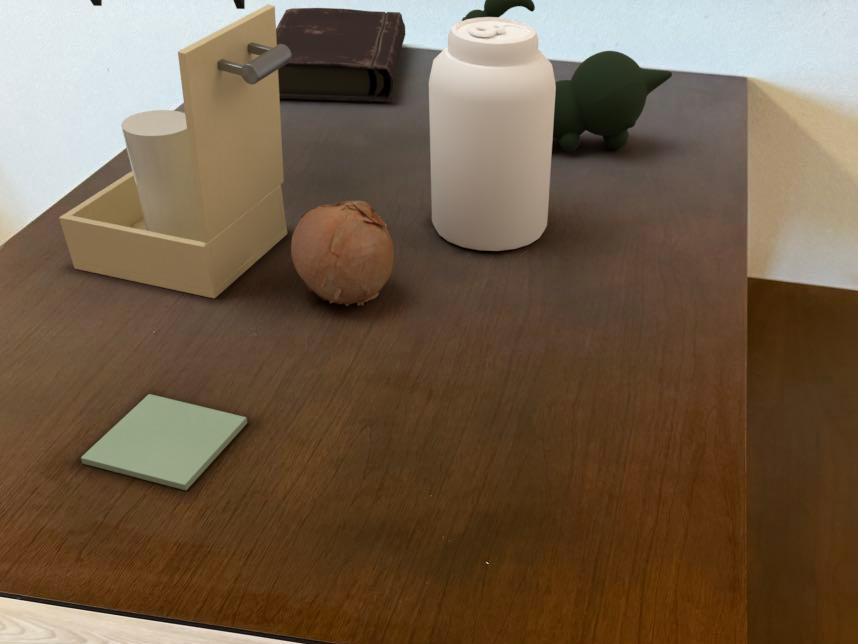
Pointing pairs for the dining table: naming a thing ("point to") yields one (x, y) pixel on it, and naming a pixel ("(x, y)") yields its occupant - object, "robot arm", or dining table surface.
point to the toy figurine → (593, 91)
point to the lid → (233, 118)
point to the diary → (340, 54)
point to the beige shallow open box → (167, 242)
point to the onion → (343, 252)
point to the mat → (165, 441)
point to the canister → (163, 172)
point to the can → (491, 135)
